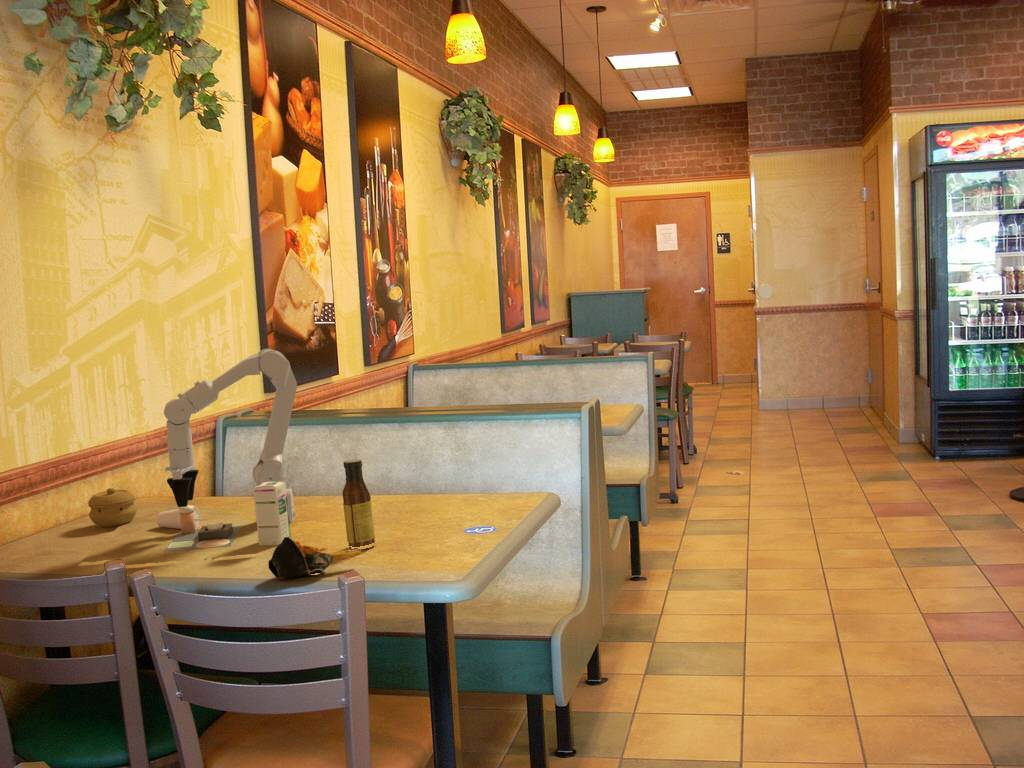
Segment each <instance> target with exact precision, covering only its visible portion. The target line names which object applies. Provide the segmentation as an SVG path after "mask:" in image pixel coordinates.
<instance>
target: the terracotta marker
mask: <svg viewBox="0 0 1024 768" xmlns="http://www.w3.org/2000/svg"><path fill="white" fill-rule="evenodd" d="M194 506H195V505H193V504H192V505H189V504H187V506H186V507H178V509H179V513H180V521H181V529H180V531H181V532H182V534H183V535H187V534H193V533H195V530H196V527H195V524H194V513H193V511H194Z"/></svg>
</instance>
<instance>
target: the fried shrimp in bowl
mask: <svg viewBox="0 0 1024 768" xmlns="http://www.w3.org/2000/svg"><path fill="white" fill-rule="evenodd" d="M326 550H328V547H323V548H319V547H314V546H309V545H306V544H304V545H302V544H301V542H300V541H299V540H293V539H292V538H291V539H290V538H288V537H285V538H284V539H283V541H282V543H281V544H279V545H276V547H275V549H274V550H273V552H272V556H271V559H269V560H268V569H269V570H270V572H271V574H273V576H274V577H275V578H277V579H280V578H286V579H287V578H288V579H293V578H294V577H295V578H298V577H301V576H304V575H305V576H309V575H311V574H315V573H321V574H323V573H322V572H324V570H326V569H327V568H329V566H330V565H331V564H332V562H333V561H334V560H344V559H345V560H346V559H348V558H354V557H357V556H360V555H361V554H362V552H363V550H361V549H358V548H354V549H347V550H346V549H345V550H340V551H335V552H334V551H333V552H330V553H326V552H322V551H326Z"/></svg>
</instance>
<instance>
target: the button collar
mask: <svg viewBox="0 0 1024 768" xmlns="http://www.w3.org/2000/svg"><path fill="white" fill-rule="evenodd" d="M233 527H234V526H233V523H223V529H221V530H209V531H208V530H207V525H202V526H201V528H199V529H200V530H199V532H198V541H203V540H213V539H227V538H229V537H230V535H231V534H232V532H233Z"/></svg>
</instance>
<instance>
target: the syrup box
mask: <svg viewBox="0 0 1024 768" xmlns="http://www.w3.org/2000/svg"><path fill="white" fill-rule="evenodd" d="M256 486H257V485H256ZM256 486H254V487H253V488H252V492H253V499H254V500H253V501H254V509H255V519H256V521H255V522H256V527H257V528H256V530H257V531H256V532H257V541H258V546H278V545H279V544H281V543H282V541H283V539H284V538H285V537H288V538H290V539H292V535H291V524H290V523H289V512H288V502H287V493H286V489H287V484H286V481H283V482H281V481H273V482H263V483H262V484H261V485H258V486H257V487H256Z"/></svg>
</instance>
